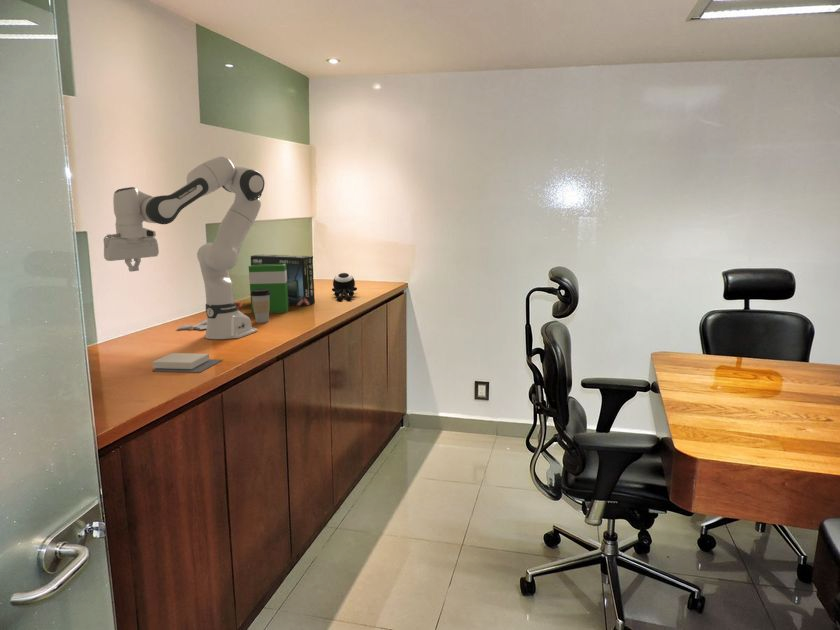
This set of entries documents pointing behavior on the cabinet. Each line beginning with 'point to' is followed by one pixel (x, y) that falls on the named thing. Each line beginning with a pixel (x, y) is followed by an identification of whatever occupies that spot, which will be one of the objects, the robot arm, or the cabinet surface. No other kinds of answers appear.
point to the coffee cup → (261, 304)
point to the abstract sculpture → (344, 286)
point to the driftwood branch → (195, 326)
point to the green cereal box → (271, 284)
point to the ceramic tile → (180, 361)
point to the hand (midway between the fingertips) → (133, 271)
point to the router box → (293, 276)
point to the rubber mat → (194, 370)
